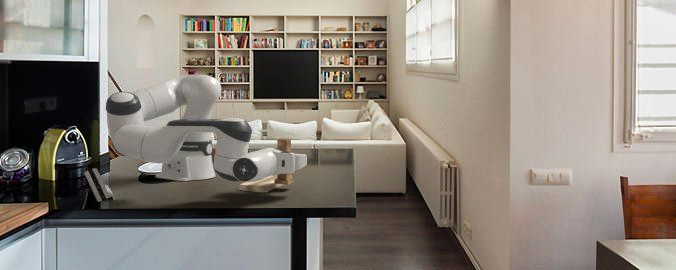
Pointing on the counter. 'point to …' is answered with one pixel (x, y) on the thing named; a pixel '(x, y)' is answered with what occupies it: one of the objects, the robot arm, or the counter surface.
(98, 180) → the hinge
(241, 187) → the board
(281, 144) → the brown wooden block tower
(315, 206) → the counter surface
